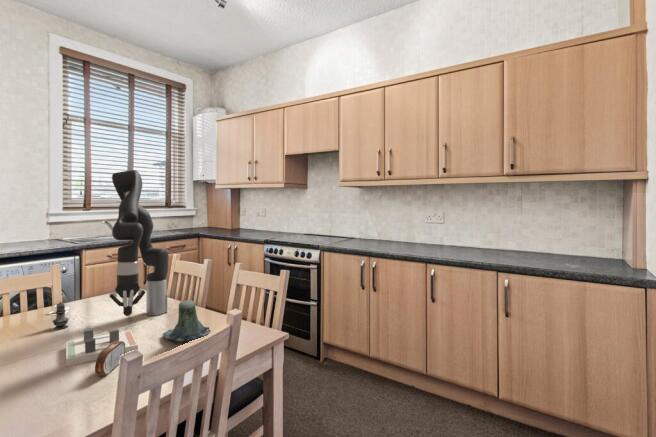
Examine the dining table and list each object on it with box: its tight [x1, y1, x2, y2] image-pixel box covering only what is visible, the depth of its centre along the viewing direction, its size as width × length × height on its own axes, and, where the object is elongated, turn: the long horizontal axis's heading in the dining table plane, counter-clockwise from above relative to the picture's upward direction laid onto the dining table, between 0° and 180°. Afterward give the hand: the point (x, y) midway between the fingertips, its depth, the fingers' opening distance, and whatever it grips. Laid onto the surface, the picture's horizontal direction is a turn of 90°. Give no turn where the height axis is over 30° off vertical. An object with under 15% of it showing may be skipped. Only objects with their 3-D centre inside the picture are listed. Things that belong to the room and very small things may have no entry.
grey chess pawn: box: [52, 301, 70, 331], centre depth 154 cm, size 6×6×12 cm
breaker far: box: [83, 327, 94, 342], centre depth 136 cm, size 3×2×4 cm
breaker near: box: [85, 338, 95, 353], centre depth 126 cm, size 3×2×4 cm
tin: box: [94, 341, 126, 376], centre depth 119 cm, size 15×3×8 cm, turn 5°
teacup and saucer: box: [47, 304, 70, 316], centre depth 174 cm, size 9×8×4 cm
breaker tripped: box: [108, 328, 120, 342], centre depth 136 cm, size 3×2×4 cm
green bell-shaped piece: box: [162, 299, 211, 345], centre depth 147 cm, size 19×21×19 cm
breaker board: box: [65, 329, 139, 367], centre depth 133 cm, size 22×18×3 cm
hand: (127, 315), depth 138 cm, fingers closed
